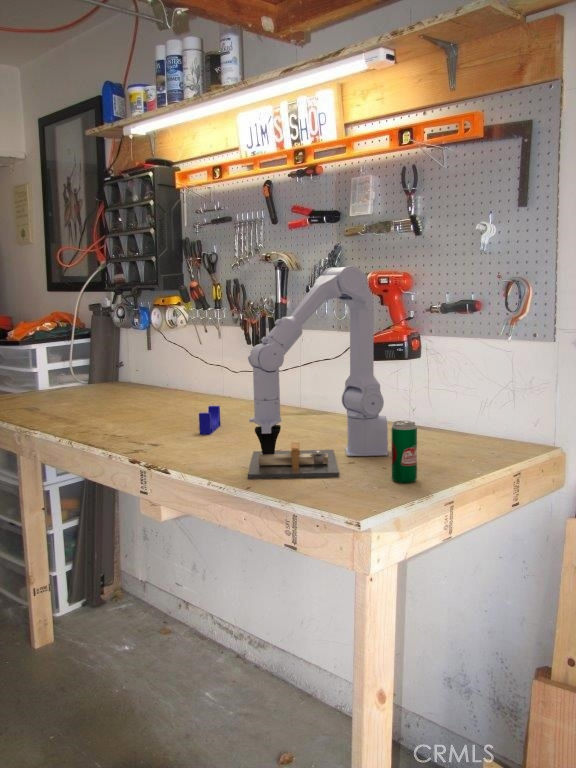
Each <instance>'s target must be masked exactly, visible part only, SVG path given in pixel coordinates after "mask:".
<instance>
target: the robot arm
mask: <svg viewBox="0 0 576 768" xmlns="http://www.w3.org/2000/svg"><path fill="white" fill-rule="evenodd" d="M367 277H368V276H367V274H366V273H364V272H363V271H362V270H361V269H360V268H359V267H357V266H354V265H348V266H343V267H342V266H341V267H340V266H338V267H335V266H333V267H331V266H330V267H328V268H326V269H325V270H324V271H323V272H322V274H321V275H320V276H318V277H317V278H316V280H315V282H314V284H313V285H312V287H310V290H309V291H308V292H307V293H306V295H305V296H304V297H303V299H302V300H301V301H300V303H299V304H298V305H297V306H296V308H295V310H294V311H293V312H292V313H291V315H290V316H283V317H281V318H280V319H276V320H275V321H274V325H275V326H274V327H273V328H272V329H270V331H269V332H268V334H266V336H263V337H262V338H260V341H261V343H259V344H256V345H254V346H253V347H252V348H251V350H250V352H249V353H250V354H249V356H248V357H247V361H248V363H249V365H250V367H252V372H253V373H252V375H253V376H252V377H253V379H252V380H253V381H252V382H253V407H254V408H253V409H254V410H253V413H254V417H249V423H255V424H256V425H258V426H255V427H254V433H255V435H256V436H257V438H258V441H259V444H260V448H261V451H262V454H263V455H264V454H274V453H275V451H276V443H277V440H278V437H279V434H280V432H281V430H282V429H281V428H282V426H281V425H280V423H282V417H281V394H280V390H281V389H280V367H282V366H283V364H284V360H285V355H286V354H287V353H288V351H290V349H291V348H292V347H293V346H294V344H295V343H297V341H298V340H299V338H300V337H301V336H302V335H303V326H304V324H306V322H307V321H308V320H309V319H310V318H311V317H312V316H313V315H314V314H315V313H316V312H317V310H318V309H319V308H320V307H321V306H322V305H323V304H324V303H325V302H326V301H329V300H332V299H333V300H334V299H339V300H341V302H343V304H345V305H346V306H347V307H348V308H349V349H350V350H349V376H348V377H347V379H346V380H345V381H344V385H345V386H344V390H343V392H342V395H341V404H342V406H343V408H344V409H345V410H346V416H347V418H346V419H347V421H346V425H347V426H346V427H347V430H346V431H347V446H345V447H344V451H345V453H346V456H347V457H370V456H371V457H375V456H376V457H377V456H379V457H380V456H388V455H389V452H388V450H389V449H388V446H389V440H388V439H389V437H388V435H389V433H388V430H389V429H388V419H387V416H386V415H380V414H381V412H382V410H383V409H384V406H385V405H384V403H385V401H384V400H385V399H384V396H383V395H382V392H381V384H380V382H379V381H378V379H377V378H376V377H375V375H374V358H375V356H374V346H375V345H374V344H375V343H374V338H375V337H374V331H375V330H374V328H375V327H374V321H375V319H374V313H375V312H374V311H375V310H374V305H375V303H374V297H373V294H372V292H371V290H370V287H369V285H368V280H367V279H368V278H367Z"/></svg>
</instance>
